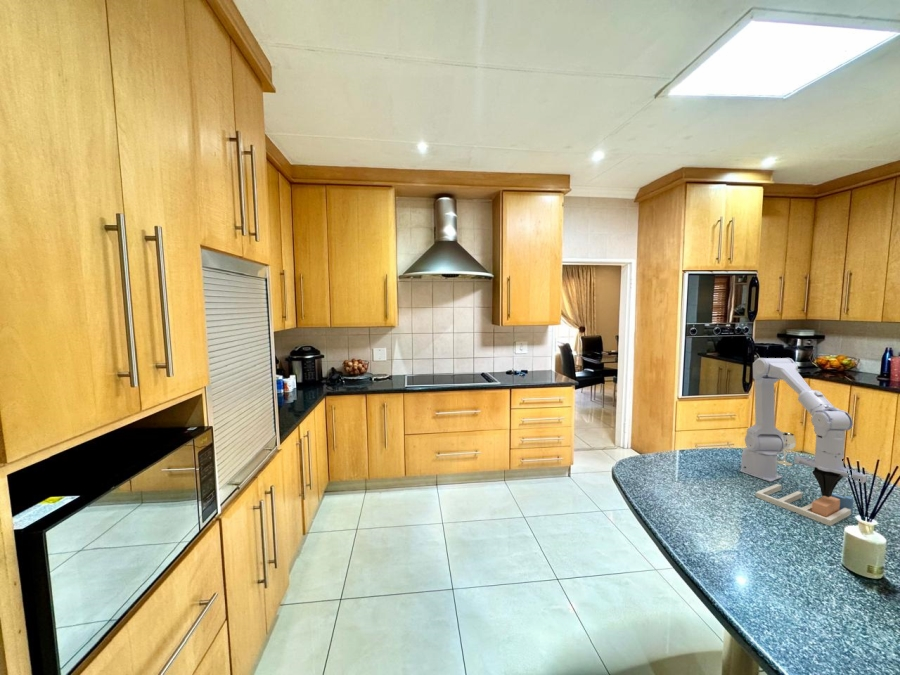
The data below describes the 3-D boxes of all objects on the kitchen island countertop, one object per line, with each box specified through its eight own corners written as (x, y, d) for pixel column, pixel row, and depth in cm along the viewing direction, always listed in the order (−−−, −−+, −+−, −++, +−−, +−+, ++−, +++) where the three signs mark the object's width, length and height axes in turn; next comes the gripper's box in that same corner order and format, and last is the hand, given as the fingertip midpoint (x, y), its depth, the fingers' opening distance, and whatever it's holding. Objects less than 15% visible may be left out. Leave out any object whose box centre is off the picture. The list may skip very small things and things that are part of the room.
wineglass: (798, 466, 135) (800, 436, 134) (781, 465, 136) (782, 435, 135) (787, 460, 141) (788, 431, 140) (770, 459, 142) (772, 430, 141)
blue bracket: (820, 504, 109) (821, 489, 109) (822, 502, 110) (823, 488, 110) (849, 514, 103) (850, 499, 103) (852, 513, 104) (853, 497, 104)
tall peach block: (811, 516, 103) (812, 501, 103) (825, 508, 107) (826, 494, 107) (825, 522, 100) (826, 506, 100) (839, 513, 104) (840, 499, 104)
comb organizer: (755, 496, 114) (755, 492, 114) (776, 488, 119) (776, 483, 119) (830, 526, 98) (830, 520, 98) (850, 514, 103) (851, 509, 103)
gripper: (790, 444, 108) (788, 487, 109) (859, 463, 94) (856, 511, 95) (801, 441, 110) (799, 482, 111) (871, 458, 97) (867, 505, 98)
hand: (826, 495), depth 104 cm, fingers closed
